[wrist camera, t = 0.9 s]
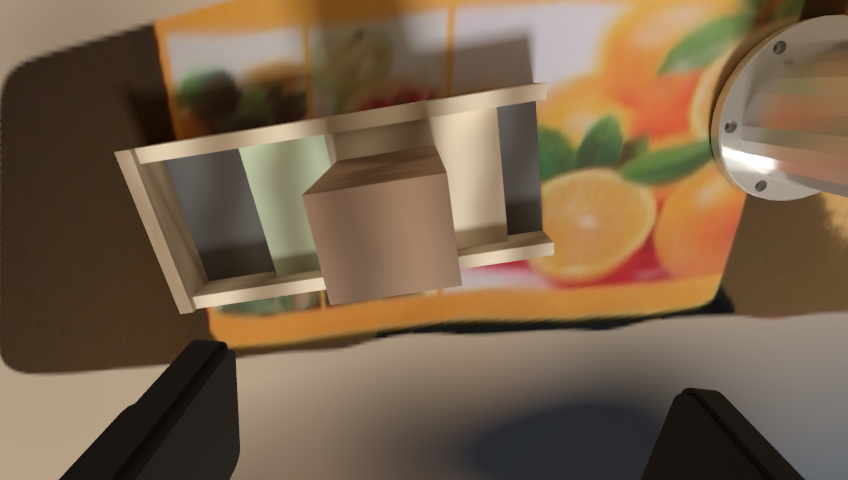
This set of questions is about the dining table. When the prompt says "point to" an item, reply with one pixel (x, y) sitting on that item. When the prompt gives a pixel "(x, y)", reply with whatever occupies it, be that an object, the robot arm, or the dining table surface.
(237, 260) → the channel board
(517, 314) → the dining table surface
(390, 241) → the walnut block
